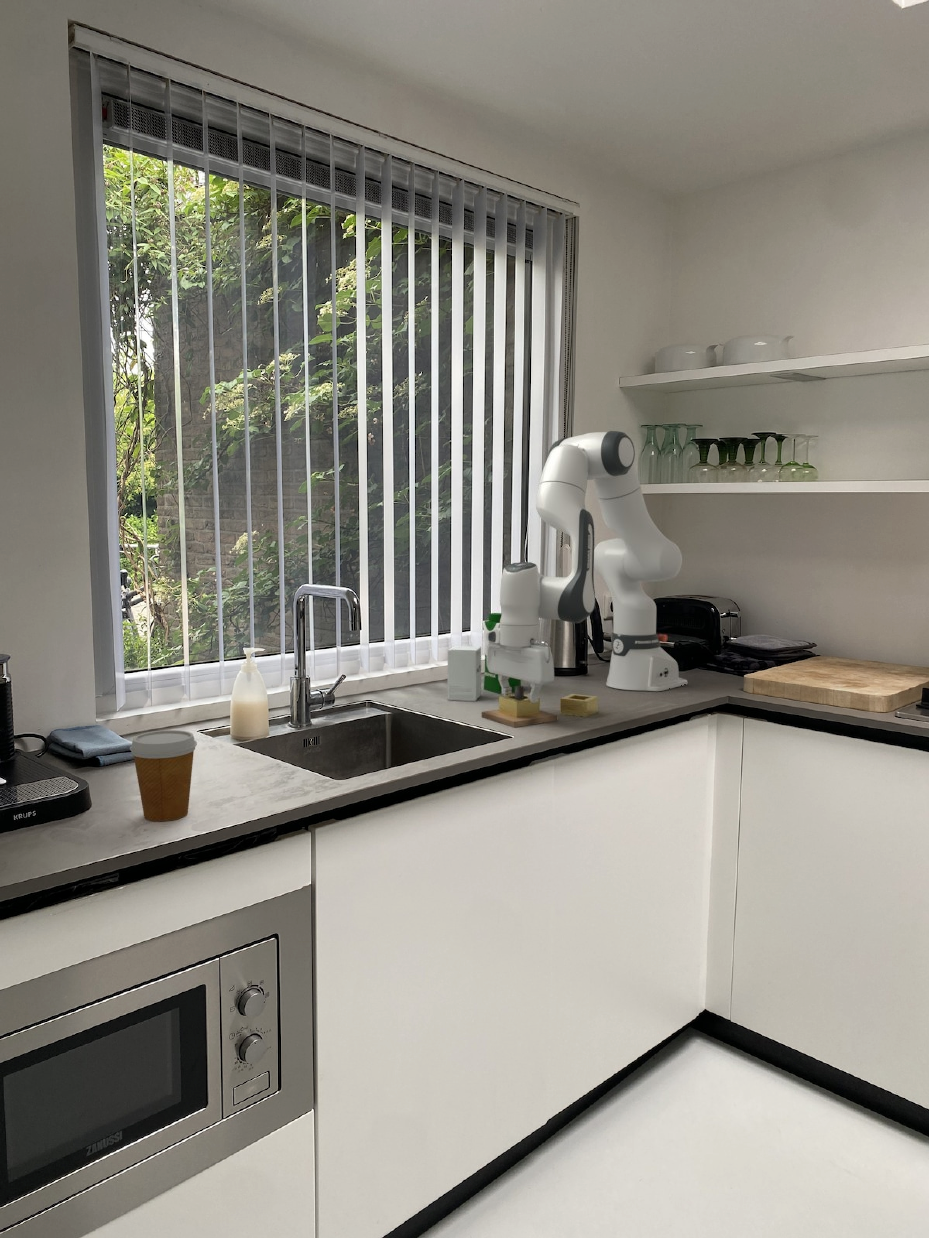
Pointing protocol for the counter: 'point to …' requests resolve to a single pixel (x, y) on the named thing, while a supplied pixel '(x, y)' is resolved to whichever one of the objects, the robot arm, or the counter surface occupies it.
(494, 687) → the milk carton
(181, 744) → the disposable coffee cup
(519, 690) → the stand
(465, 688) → the supplement box
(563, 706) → the link
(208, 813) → the counter surface
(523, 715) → the link
